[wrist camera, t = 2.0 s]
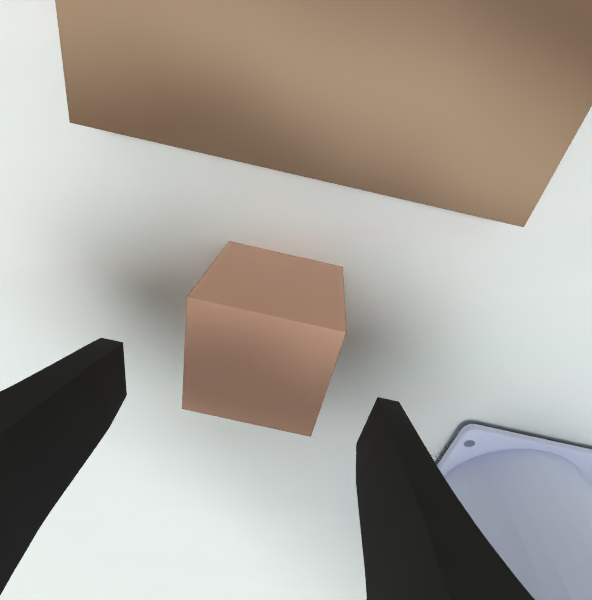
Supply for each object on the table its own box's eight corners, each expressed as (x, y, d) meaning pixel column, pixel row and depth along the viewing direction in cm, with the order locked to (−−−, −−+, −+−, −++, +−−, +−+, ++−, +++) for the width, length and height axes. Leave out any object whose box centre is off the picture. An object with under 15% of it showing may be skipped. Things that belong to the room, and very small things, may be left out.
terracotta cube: (316, 353, 16) (310, 436, 12) (219, 332, 16) (182, 408, 12) (342, 265, 13) (346, 332, 10) (229, 240, 13) (187, 296, 9)
